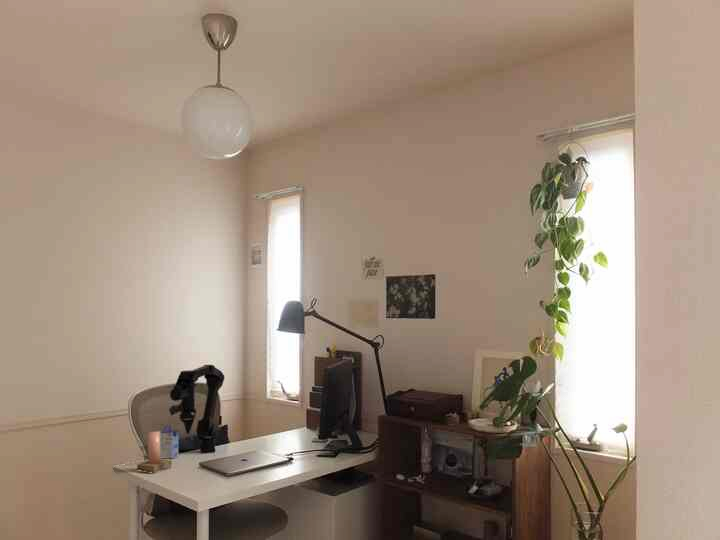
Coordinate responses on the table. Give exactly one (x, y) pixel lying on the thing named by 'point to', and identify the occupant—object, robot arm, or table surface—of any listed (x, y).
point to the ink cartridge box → (168, 443)
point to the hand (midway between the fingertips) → (188, 431)
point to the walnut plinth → (154, 466)
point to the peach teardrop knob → (154, 447)
